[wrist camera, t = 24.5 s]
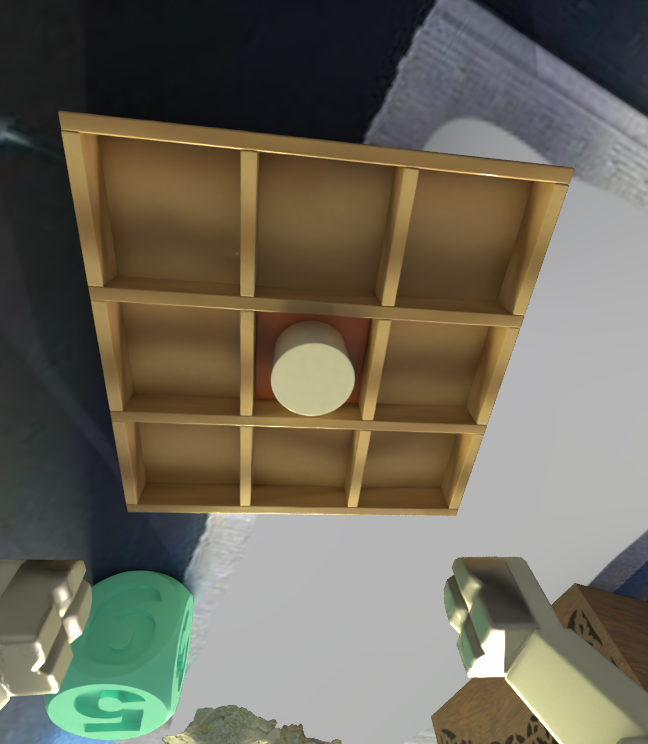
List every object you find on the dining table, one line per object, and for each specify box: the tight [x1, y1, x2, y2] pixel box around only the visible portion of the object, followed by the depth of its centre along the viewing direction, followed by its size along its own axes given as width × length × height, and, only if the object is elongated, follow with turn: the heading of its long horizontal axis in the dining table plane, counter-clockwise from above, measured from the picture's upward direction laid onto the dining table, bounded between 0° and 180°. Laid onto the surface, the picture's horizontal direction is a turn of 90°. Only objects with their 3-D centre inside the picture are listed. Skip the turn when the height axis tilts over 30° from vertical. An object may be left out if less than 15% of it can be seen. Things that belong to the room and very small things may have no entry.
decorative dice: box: [45, 570, 193, 740], centre depth 32 cm, size 8×8×8 cm
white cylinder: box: [271, 321, 355, 416], centre depth 23 cm, size 4×4×3 cm
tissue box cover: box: [431, 583, 648, 744], centre depth 41 cm, size 26×14×10 cm, turn 156°
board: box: [58, 110, 574, 516], centre depth 24 cm, size 22×22×3 cm
